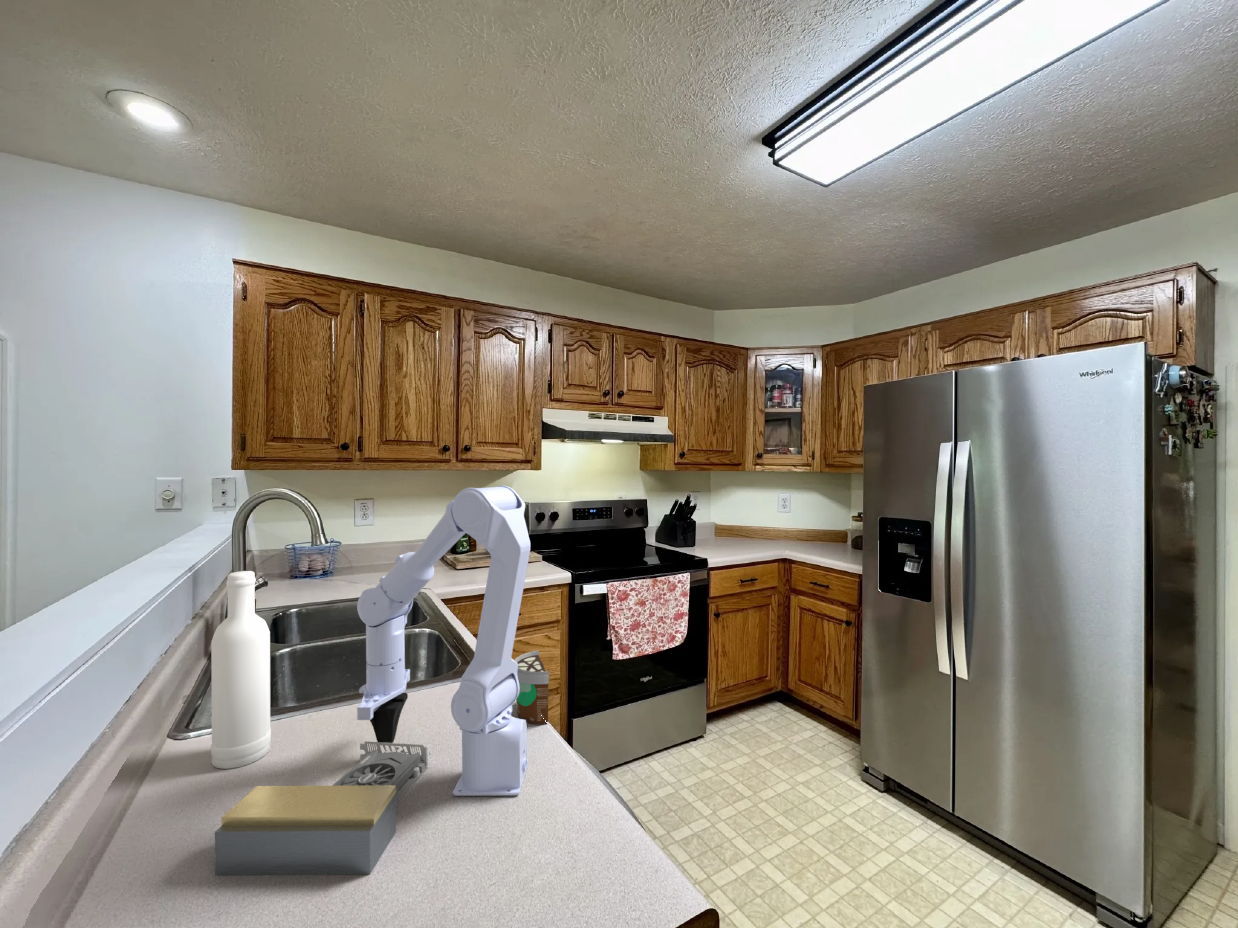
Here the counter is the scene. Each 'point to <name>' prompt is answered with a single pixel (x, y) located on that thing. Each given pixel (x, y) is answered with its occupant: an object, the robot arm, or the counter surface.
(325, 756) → the counter surface
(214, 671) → the bottle
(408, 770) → the graphics card
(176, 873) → the counter surface
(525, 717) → the food container
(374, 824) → the grey flat box
